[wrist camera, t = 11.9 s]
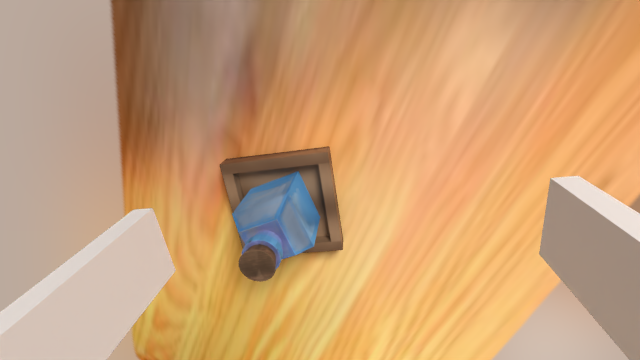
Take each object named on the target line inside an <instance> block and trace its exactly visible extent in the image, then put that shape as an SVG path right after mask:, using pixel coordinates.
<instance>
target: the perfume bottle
mask: <svg viewBox="0 0 640 360" xmlns="http://www.w3.org/2000/svg"><path fill="white" fill-rule="evenodd" d="M232 215H233V218H234V221H235V224H236V227H237V229H238V232H239V234H240V236H241V238H242V239H243V241H244V243H245V246H244V248H243V251H242V256H241V257H240V259H239V268H240V270H241V272H242V273H243V274H244V275H245V276H246V277H247V278H249V279H251V280H254V281H266V280H268V279H270V278H271V277H272V276H273V275H274V273H275V271H276V269H277V268H278V267H279V264H280V262H281V259H285V258H288V257H291V256H294V255H297V254H299V253H301V252H303V251H305V250H307V249H310V248H312V247H314V244H315V239H316V235H317V230H318V225H319V220H320V216H319V214H318V211H317V209H316V207H315V205H314V203H313V201H312V199H311V197H310V194H309V192H308V190H307V188H306V186H305V184H304V182H303V180H302V177H301V175H300V173H299V171H297V172H294V173H292V174H289V175H286V176H284V177H281V178H278V179H276V180H273V181H271V182H268V183H265V184H263V185H260V186H257V187H255V188H252V189H250V190H249V192H248V193H247V194H246V196H245V197H244V198H243V200H242V201H241V203H240V204H239V205H238V207H237V208H236V209H235V211H234V212H233V213H232Z"/></svg>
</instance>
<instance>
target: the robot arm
mask: <svg viewBox="0 0 640 360" xmlns="http://www.w3.org/2000/svg"><path fill="white" fill-rule="evenodd" d="M539 254H540V256H541V257H542V258H543V259H544V260H545V261H546V263H547V264H548V265H549V266H550V267H551V268H552V270H553V271H554V272H555V273H556V274H557V275H558V277H559V278H560V279H561V280H562V281H563V282H564V284H565V285H566V286H567V287H568V288H569V289H570V290H571V292H572V293H573V294H574V295H575V297H576V298H577V299H578V300H579V301H580V302H581V303H582V305H583V306H584V307H585V308H586V309H587V310H588V312H589V313H590V314H591V315H592V316H593V318H594V319H595V320H596V321H597V322H598V323H599V325H600V326H601V327H602V328H603V329H604V330H605V332H606V333H607V334H608V335H609V336H610V338H611V339H612V340H613V341H614V342H615V343H616V345H617V346H618V347H619V348H620V349H621V350H622V352H623V353H624V354H625V355H626V356H627V357H628V359H629V360H640V214H639V213H638V212H636V211H634V210H633V209H631V208H630V207H628V206H626V205H625V204H623V203H621V202H620V201H618V200H617V199H615V198H613V197H612V196H610V195H608V194H607V193H605V192H604V191H602V190H600V189H599V188H597V187H595V186H594V185H592V184H591V183H589V182H587V181H586V180H584V179H582V178H581V177H579V176H572V177H558V178H550V185H549V191H548V198H547V205H546V211H545V218H544V225H543V232H542V238H541V245H540V252H539ZM175 271H176V270H175V267H174V265H173V262H172V259H171V257H170V254H169V251H168V248H167V246H166V243H165V240H164V238H163V235H162V232H161V229H160V227H159V224H158V221H157V218H156V216H155V213H154V210H153V208H149V209H136V210H132V211H131V212H130V213H128V214H127V215H126V216H125V217H123V218H122V219H121V220H119V221H118V222H117V223H115V224H114V225H113V226H112V227H110V228H109V229H108V230H106V231H105V232H104V233H102V234H101V235H100V236H99V237H97V238H96V239H95V240H93V241H92V242H91V243H90V244H88V245H87V246H86V247H84V248H83V249H82V250H80V251H79V252H78V253H76V254H75V255H74V256H73V257H71V258H70V259H69V260H67V261H66V262H65V263H63V264H62V265H61V266H60V267H58V268H57V269H56V270H54V271H53V272H52V273H51V274H49V275H48V276H47V277H45V278H44V279H43V280H41V281H40V282H39V283H38V284H36V285H35V286H34V287H32V288H31V289H30V290H28V291H27V292H26V293H25V294H23V295H22V296H21V297H19V298H18V299H17V300H15V301H14V302H13V303H12V304H10V305H9V306H8V307H6V308H5V309H4V310H2V311H1V312H0V360H107V358H108V357H109V356H110V355H111V353H112V352H113V351H114V349H115V348H116V347H117V345H118V344H119V343H120V342H121V340H122V339H123V338H124V336H125V335H126V334H127V333H128V331H129V330H130V329H131V327H132V326H133V325H134V324H135V322H136V321H137V320H138V318H139V317H140V316H141V315H142V313H143V312H144V311H145V309H146V308H147V307H148V306H149V304H150V303H151V302H152V300H153V299H154V298H155V297H156V295H157V294H158V293H159V291H160V290H161V289H162V287H163V286H164V285H165V284H166V282H167V281H168V280H169V278H170V277H171V276H172V275H173V273H174V272H175Z"/></svg>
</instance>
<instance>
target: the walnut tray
mask: <svg viewBox="0 0 640 360" xmlns="http://www.w3.org/2000/svg"><path fill="white" fill-rule="evenodd" d="M220 168H221V172H222V175H223V179H224V183H225V186H226V190H227V193H228V197H229V201H230V204H231V208H232V211H233V212H234V211H235V209H236V208H237V207H238V205H239V204H240V203H241V201H242V200H243V198H244V197H245V196H246V194H247V193H248V192H249V190H250V189H252V188H255V187H257V186H260V185H263V184H265V183H268V182H271V181H273V180H276V179H278V178H281V177H284V176H286V175H289V174H292V173H294V172H297V171H299V173H300V175H301V177H302V180H303V182H304V184H305V186H306V188H307V190H308V192H309V194H310V197H311V199H312V201H313V203H314V205H315V207H316V209H317V211H318V214H319V216H320V220H319V225H318V230H317V235H316V239H315V244H314V247H312V248H310V249H307V250H305V251H303V252H301V253H306V252H320V251H333V250H343V236H342V229H341V222H340V215H339V209H338V202H337V195H336V188H335V182H334V175H333V168H332V161H331V155H330V148H329V147H322V148H314V149H306V150H297V151H289V152H281V153H273V154H265V155H256V156H248V157H240V158H232V159H226V160H225V161H224V162H222V163H221V164H220ZM237 230H238V229H237ZM238 233H239V232H238ZM239 237H240V240H241V244H242V248H244V246H245V243H244V241H243V239H242V238H241V236H240V234H239Z"/></svg>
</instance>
